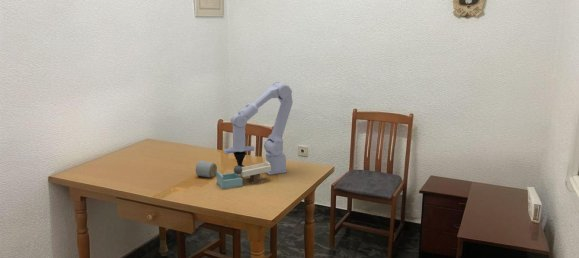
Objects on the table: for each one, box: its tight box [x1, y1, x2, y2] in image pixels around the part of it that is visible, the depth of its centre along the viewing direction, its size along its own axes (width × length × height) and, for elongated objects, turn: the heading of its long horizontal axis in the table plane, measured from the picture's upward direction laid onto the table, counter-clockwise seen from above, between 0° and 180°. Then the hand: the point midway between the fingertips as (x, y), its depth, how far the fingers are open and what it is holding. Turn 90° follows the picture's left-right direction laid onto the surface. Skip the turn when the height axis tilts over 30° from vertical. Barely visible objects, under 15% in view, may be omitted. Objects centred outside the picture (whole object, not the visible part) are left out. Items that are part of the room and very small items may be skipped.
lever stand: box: [245, 173, 265, 185], centre depth 233 cm, size 6×8×4 cm
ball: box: [233, 165, 242, 175], centre depth 228 cm, size 4×4×4 cm
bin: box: [216, 170, 244, 190], centre depth 227 cm, size 10×9×6 cm
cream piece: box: [239, 160, 271, 178], centre depth 235 cm, size 14×14×4 cm
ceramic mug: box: [195, 159, 218, 178], centre depth 240 cm, size 11×8×8 cm
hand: (239, 166), depth 237 cm, fingers closed, pressing on cream piece
